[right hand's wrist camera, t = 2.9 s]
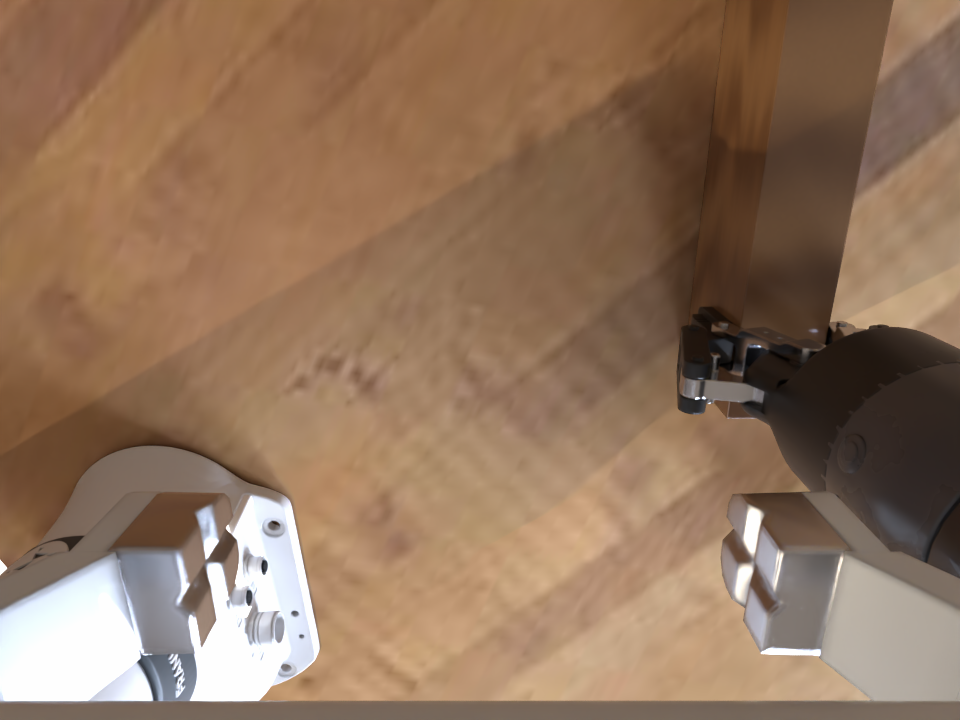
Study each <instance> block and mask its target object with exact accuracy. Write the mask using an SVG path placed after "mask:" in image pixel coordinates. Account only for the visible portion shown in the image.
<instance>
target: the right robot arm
mask: <svg viewBox="0 0 960 720" xmlns="http://www.w3.org/2000/svg"><path fill="white" fill-rule="evenodd" d="M727 518H728V520H729V521H730V523H731V524H732V526H733V528H734V529H733V530H732V531H731V532H730V533H729V534H728V535H727V536H726V537H725V538H724V539H723V543H722V551H721V566H722V576H723V579H724V582H725V586H726V588H727V590H728V592H729V594H730V596H731V598H732V600H734V601H735V602H737V603H738V604H740V605H741V606H743V607H744V608H745V613H744V619H743V621H744V623H745V625H746V626H747V628H748V630H749V632H750V634H751V636H752V637H753V639H754V641H755V643H756V645H757V647H758V649H759V650H760V652H761V654H795V655H820V656H819V658H820V659H821V660H822V661H824V662H825V663H826V664H827V665H829V666H830V667H831V668H832V669H834V670H835V671H836V672H837V673H839V674H840V675H841V676H843V677H844V678H845V679H846V680H848V681H849V682H850V683H851V684H853V685H854V686H855V687H856V688H858V689H859V690H860V691H861V692H863V693H864V694H865V695H866V696H868V697H869V698H870V699H871V700H873V701H259V700H260V699H261V698H262V697H263V696H264V695H265V693H266V692H267V691H268V690H269V688H270V687H271V686H273V685H276V684H278V683H281V682H283V681H286V680H288V679H290V678H292V677H294V676H296V675H297V674H299V673H300V672H302V671H303V670H304V669H306V668H307V667H308V666H309V665H310V664H311V663H312V662H313V661H314V660H315V659H316V657H317V654H318V652H319V649H320V648H319V640H318V634H317V629H316V624H315V619H314V614H313V609H312V604H311V599H310V594H309V590H308V585H307V580H306V575H305V570H304V565H303V560H302V555H301V550H300V545H299V540H298V535H297V530H296V525H295V520H294V515H293V510H292V506H291V503H290V501H289V499H288V498H287V497H286V496H284V495H283V494H281V493H279V492H277V491H275V490H272V489H268V488H265V487H261V486H258V485H254V484H250V483H247V482H245V481H243V480H242V479H240V478H238V477H237V476H235V475H234V474H232V473H231V472H229V471H228V470H227V469H225V468H224V467H222V466H220V465H219V464H217V463H215V462H214V461H212V460H210V459H208V458H205V457H203V456H201V455H198V454H196V453H193V452H190V451H186V450H183V449H178V448H173V447H166V446H138V447H131V448H127V449H123V450H120V451H117V452H114V453H112V454H109V455H107V456H105V457H104V458H102V459H100V460H99V461H97V462H96V463H94V464H93V465H92V466H91V467H90V468H89V469H88V470H87V471H86V472H85V473H84V474H83V475H82V477H81V478H80V480H79V481H78V483H77V485H76V487H75V489H74V491H73V493H72V495H71V498H70V500H69V501H68V503H67V505H66V507H65V508H64V510H63V512H62V513H61V515H60V516H59V517H58V519H57V520H56V522H55V523H54V525H53V526H52V527H51V528H50V530H49V531H48V532H47V534H46V535H45V536H44V537H43V539H42V540H41V541H40V542H39V544H38V545H37V546H36V547H34V548H33V549H31V550H30V551H28V552H27V553H26V554H25V555H23V556H22V557H21V558H19V559H18V560H17V561H15V562H14V563H13V564H12V565H10V566H9V567H8V568H6V566H5V565H4V564H3V563H2V562H1V561H0V720H960V579H959V578H957V577H955V576H953V575H951V574H949V573H946V572H944V571H942V570H940V569H938V568H935V567H933V566H931V565H929V564H927V563H925V562H922V561H920V560H918V559H916V558H914V557H911V556H909V555H907V554H905V553H903V552H890V550H889V549H888V548H887V547H886V546H885V545H884V544H883V543H882V542H881V541H880V540H879V539H878V538H877V537H876V536H875V535H874V534H873V533H872V532H871V531H870V530H869V529H868V528H867V527H866V526H865V525H864V524H863V523H862V522H861V521H860V520H859V519H858V518H857V517H856V515H855V514H854V513H853V512H852V511H851V510H850V509H849V508H848V507H847V506H846V505H845V504H844V503H843V502H842V501H841V500H840V499H839V498H838V497H837V496H836V495H835V494H833V493H830V492H828V491H815V492H791V493H752V494H733V495H732V497H731V499H730V502H729V505H728V511H727ZM272 521H277V522H278V523H279V524H280V525H275V524H273V523H272ZM287 664H288V665H287Z"/></svg>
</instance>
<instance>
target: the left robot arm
mask: <svg viewBox="0 0 960 720" xmlns="http://www.w3.org/2000/svg"><path fill="white" fill-rule="evenodd" d="M733 345H735V348H736V351H735V358H734V361H732V360H731V359H732V352H733ZM766 349H767V350H766ZM677 398H678V409H679V410H680V411H682V412H684V413H688V414H702V413H704V412H705V408H706V403H707V404H712V403H714V400H722V401H732V402H740V405H741V407H742V408H743V410H744V411H745V412H746V413H747V414H749V415H750V416H752V417H755V418H757V419H759V420H761V421H763V422H765V423H767V424H768V425H770V427H771V429H772V431H773V434H774V436H775V438H776V441H777V443H778V446H779V448H780V451H781V453H782V455H783V457H784V459H785V461H786V462H787V464H788V466H789V467H790V468H791V470H792V471H793V472H794V473H795V474H796V475H797V477H798V478H799V479H800V480H801V481H802V482H803V483H804V484H805V485H806V487H807V488H808V489H809V490H810V491H811V492H815V491H828V492H830V493H833V494H835V495H836V496H837V497H838V498H839V499H840V500H841V501H842V502H843V503H844V504H845V505H846V506H847V507H848V508H849V509H850V510H851V511H852V512H853V513H854V514H855V515H856V517H857V518H858V519H859V520H860V521H861V522H862V523H863V524H864V525H865V526H866V527H867V528H868V529H869V530H870V531H871V532H872V533H873V534H874V535H875V536H876V537H877V538H878V539H879V540H880V541H881V542H882V543H883V544H884V545H885V546H886V547H887V548H888V549H889V550H890V552H903V553H905V554H907V555H909V556H911V557H914V558H916V559H918V560H920V561H922V562H925V563H927V564H929V565H931V566H933V567H935V568H938V569H940V570H942V571H944V572H946V573H949V574H951V575H953V576H955V577H957V578H959V579H960V349H958V348H956V347H954V346H952V345H950V344H948V343H945V342H943V341H941V340H939V339H937V338H935V337H933V336H931V335H928V334H926V333H923V332H920V331H917V330H913V329H908V328H900V327H889V326H887V325H873V326H869V329H867V330H866V329H859V328H855V326H854V325H852V324H848V323H847V322H844V321H837V322H829V327H828V332H827V337H826V342H825V345H824V344H821V343H819V342H816V341H813V340H811V339H799V340H797V339H794V338H792V337H789V336H787V335H784V334H782V333H779V332H777V331H774V330H772V329H769V328H767V327H755V328H746V329H744V328H742V327H739V326H737V325H735V324H733V323H732V322H731V321H730V320H728V319H727V318H726V317H725V316H723V315H722V314H721V313H720V312H718V311H717V310H716V309H714V308H713V307H699V309H698V314H692V319H691V325H687V326H683V327H682V329H681V337H680V345H679V354H678V363H677Z"/></svg>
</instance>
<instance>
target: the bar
mask: <svg viewBox="0 0 960 720" xmlns="http://www.w3.org/2000/svg"><path fill="white" fill-rule="evenodd" d="M892 5H893V0H726V9H725V17H724V26H723V34H722V42H721V51H720V59H719V68H718V76H717V85H716V93H715V102H714V110H713V119H712V127H711V136H710V144H709V153H708V161H707V169H706V178H705V186H704V195H703V203H702V212H701V220H700V229H699V237H698V246H697V254H696V263H695V271H694V280H693V288H692V296H691V305H690V313H689V322H688V325H691V319H692V314H698V309H699V307H713V308H714V309H716V310H717V311H718V312H720V313H721V314H722V315H723V316H725V317H726V318H727V319H728V320H730V321H731V322H732V323H733V324H735V325H737V326H739V327H742V328H744V329H746V328H755V327H767V328H769V329H772V330H774V331H777V332H779V333H782V334H784V335H787V336H789V337H792V338H794V339H797V340H799V339H811V340H813V341H816V342H819V343H821V344H824V345H825V342H826V337H827V332H828V327H829V322H830V317H831V312H832V307H833V302H834V297H835V292H836V287H837V282H838V277H839V272H840V267H841V262H842V257H843V252H844V247H845V242H846V237H847V232H848V227H849V222H850V217H851V212H852V207H853V202H854V197H855V192H856V186H857V181H858V176H859V171H860V166H861V161H862V156H863V151H864V146H865V141H866V136H867V131H868V126H869V121H870V116H871V111H872V106H873V101H874V96H875V91H876V86H877V81H878V76H879V71H880V66H881V61H882V56H883V51H884V46H885V41H886V36H887V31H888V25H889V20H890V15H891V10H892ZM766 350H767V349H766ZM735 351H736V348H735V345H733V352H732V359H731V360H732V361H734V358H735ZM714 403H715V404H716V406H717V407H718V408H719V409H720V410H721V412H722V413H723V414H724V415H725V416H726V418H755V417H752V416H750V415H749V414H747V413H746V412H745V411H744V410H743V408H742V407H741V405H740V402H732V401H722V400H714Z"/></svg>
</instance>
